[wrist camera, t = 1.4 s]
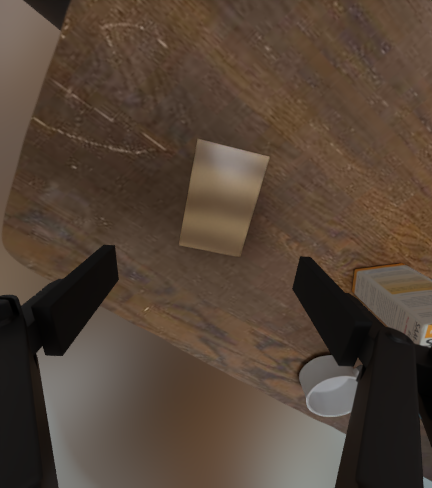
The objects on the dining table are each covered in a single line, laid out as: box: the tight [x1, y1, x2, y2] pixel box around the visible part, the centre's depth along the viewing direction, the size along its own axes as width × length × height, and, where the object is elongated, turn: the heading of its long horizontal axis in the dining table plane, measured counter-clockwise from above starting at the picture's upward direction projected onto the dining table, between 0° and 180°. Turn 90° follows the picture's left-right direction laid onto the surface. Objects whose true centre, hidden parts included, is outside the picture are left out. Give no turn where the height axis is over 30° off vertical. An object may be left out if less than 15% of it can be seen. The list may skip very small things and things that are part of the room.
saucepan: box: [299, 355, 362, 417], centre depth 42 cm, size 12×20×6 cm, turn 141°
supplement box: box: [352, 263, 432, 347], centre depth 31 cm, size 8×5×13 cm, turn 97°
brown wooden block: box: [179, 139, 270, 257], centre depth 30 cm, size 14×9×3 cm, turn 167°
